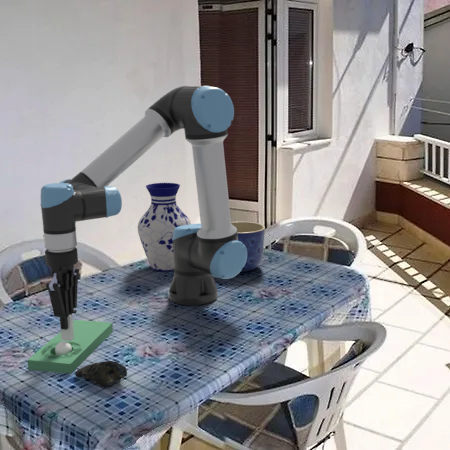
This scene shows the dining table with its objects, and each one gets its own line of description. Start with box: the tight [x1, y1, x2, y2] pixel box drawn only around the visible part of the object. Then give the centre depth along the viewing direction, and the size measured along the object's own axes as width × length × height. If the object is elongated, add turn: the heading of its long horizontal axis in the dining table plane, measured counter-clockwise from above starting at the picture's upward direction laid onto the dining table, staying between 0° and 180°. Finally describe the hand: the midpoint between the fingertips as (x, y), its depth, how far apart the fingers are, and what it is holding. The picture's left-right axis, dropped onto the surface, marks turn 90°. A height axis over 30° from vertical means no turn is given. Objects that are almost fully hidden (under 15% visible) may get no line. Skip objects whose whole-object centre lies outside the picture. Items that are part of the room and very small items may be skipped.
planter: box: [231, 221, 266, 272], centre depth 219 cm, size 17×17×15 cm
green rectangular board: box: [27, 319, 114, 375], centre depth 156 cm, size 25×11×2 cm, turn 168°
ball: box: [55, 341, 72, 355], centre depth 150 cm, size 4×4×4 cm
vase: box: [137, 182, 192, 273], centre depth 219 cm, size 19×19×30 cm
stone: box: [75, 360, 128, 388], centre depth 140 cm, size 7×13×5 cm, turn 67°
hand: (67, 339), depth 153 cm, fingers closed
